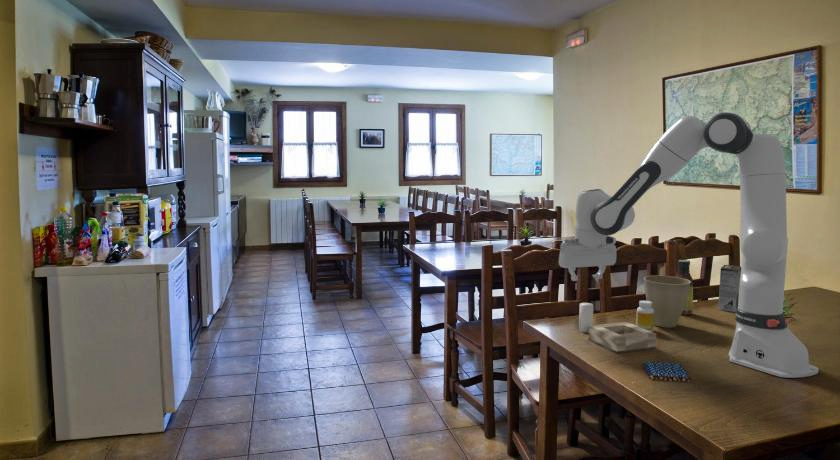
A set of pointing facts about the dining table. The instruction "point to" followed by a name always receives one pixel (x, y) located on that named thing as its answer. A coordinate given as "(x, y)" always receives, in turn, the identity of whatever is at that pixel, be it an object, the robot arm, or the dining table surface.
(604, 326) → the socket block
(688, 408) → the dining table surface
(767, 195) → the robot arm
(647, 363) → the woven mat
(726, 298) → the coffee box
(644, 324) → the supplement bottle
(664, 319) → the plant pot
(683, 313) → the sauce bottle
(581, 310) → the cylinder
